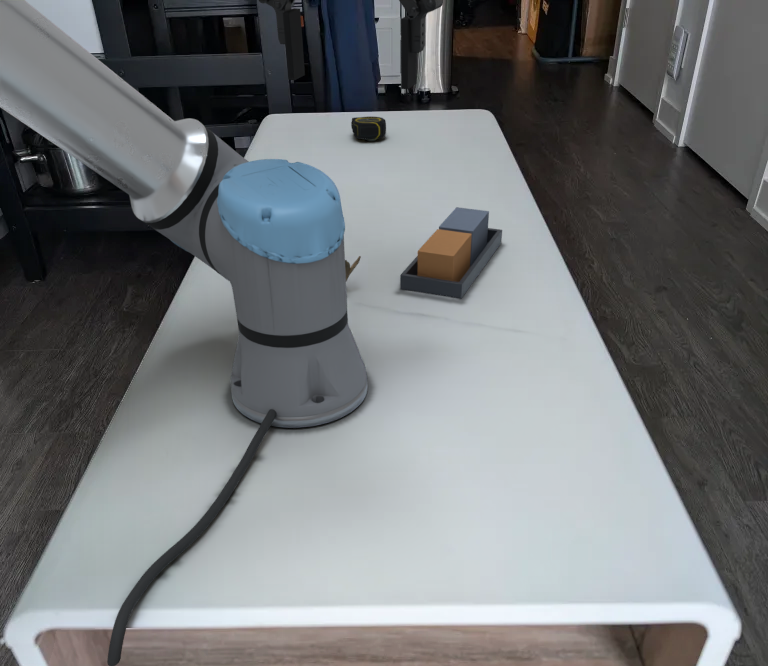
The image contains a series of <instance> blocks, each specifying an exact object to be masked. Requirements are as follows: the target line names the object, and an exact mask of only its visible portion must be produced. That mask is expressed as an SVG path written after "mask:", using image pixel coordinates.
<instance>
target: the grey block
mask: <svg viewBox="0 0 768 666" xmlns="http://www.w3.org/2000/svg"><path fill="white" fill-rule="evenodd" d="M489 218H490V211H489V210H484V209H474V208H466V207H457V206H456V207H455V208H454V209H453V210H452V212H451V213H450V214H449V215H448V216H447V217H446V218H445V219H444V220H443V222H442V223H440V225H439V226H438V229H440V230H447V231H455V232H462V233H470V234H472V236H471V255H470V265H472V264H473V262H474V261H475V260H476V258H477V257H478V256H479V254H480V253H481V252H482V250H483V249H484V248H485V246H486V245H487V235H488V228H489Z"/></svg>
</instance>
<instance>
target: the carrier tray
mask: <svg viewBox="0 0 768 666" xmlns="http://www.w3.org/2000/svg"><path fill="white" fill-rule="evenodd" d="M502 237H503V229H500V228H491V227H488V235H487V245H486V246H485V248H484V249H483V250H482V252H481V253H480V254H479V256H478V257H477V258H476V260H475V261H474V262H473V264H472V265H470V268H469V270H468V271H467V272H466V274H465V275H464V276H463V278H462V279H461V280H460V282H455V281H449V280H442V279H436V278H429V277H423V276H417V273H418V255H416V256H415V258H414V259H413V260H412V261H411V262H410V263H409V264H408V266H407V267H406V268H405V269H403V271H402V273H400V274H399V281H400V282H399V288H400V289H399V290H403V291H408V292H416V293H420V294H421V293H422V294H428V295H432V296H433V295H434V296H440V297H446V298H453V299H454V298H455V299H459V300H462V299H463V297H464V296H465V295H466V293H467V292H468V290H469V289H470V288H471V286H472V285H473V284H474V282H475V281H476V280H477V278H478V276H479V275H480V274H481V273H482V271H483V270H484V268H485V267H486V265H488V263H489V261H490V259H492V257H493V255H494V254H495V253H496V251H497V250H498V249H499V247H500V246H501V245H502V240H503V238H502Z"/></svg>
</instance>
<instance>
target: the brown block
mask: <svg viewBox="0 0 768 666" xmlns="http://www.w3.org/2000/svg"><path fill="white" fill-rule="evenodd" d="M471 236H472V234H470V233H462V232H455V231H447V230H440V229H439V228H437V229H436V230H435V231H434V232H433V233H432V234H431V236H429V238H428V239H427V240H426V241H425V242H424V243H423V244H422V245H421V247H420V248H419V249H418V250H417V256H418V273H417V276H423V277H429V278H436V279H442V280H449V281H455V282H460V280H461V279H462V278H463V276H464V275H465V274H466V272H467V271H468V270H469V268H470V255H471Z"/></svg>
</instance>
